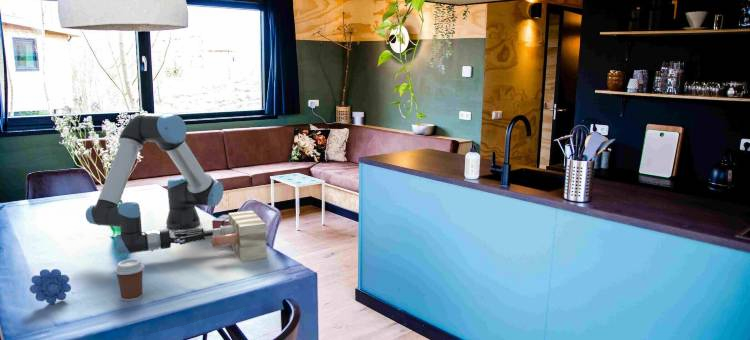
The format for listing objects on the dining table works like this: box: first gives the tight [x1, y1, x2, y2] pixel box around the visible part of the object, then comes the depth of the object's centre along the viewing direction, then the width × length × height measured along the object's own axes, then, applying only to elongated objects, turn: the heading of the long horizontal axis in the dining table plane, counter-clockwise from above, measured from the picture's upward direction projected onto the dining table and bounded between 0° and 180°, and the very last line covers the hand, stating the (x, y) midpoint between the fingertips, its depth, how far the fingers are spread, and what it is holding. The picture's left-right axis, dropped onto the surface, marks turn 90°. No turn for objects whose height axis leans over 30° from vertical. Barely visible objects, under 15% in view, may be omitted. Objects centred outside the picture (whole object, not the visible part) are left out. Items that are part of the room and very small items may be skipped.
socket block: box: [227, 210, 268, 262], centre depth 226 cm, size 22×10×14 cm, turn 26°
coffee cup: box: [113, 258, 145, 302], centre depth 182 cm, size 9×9×12 cm
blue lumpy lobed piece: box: [29, 268, 72, 305], centre depth 177 cm, size 12×7×12 cm, turn 136°
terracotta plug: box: [210, 233, 239, 248], centre depth 217 cm, size 5×14×5 cm, turn 116°
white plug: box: [220, 225, 233, 235], centre depth 230 cm, size 5×14×5 cm, turn 116°
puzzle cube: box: [211, 214, 229, 229], centre depth 240 cm, size 10×10×10 cm
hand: (220, 231), depth 227 cm, fingers closed
